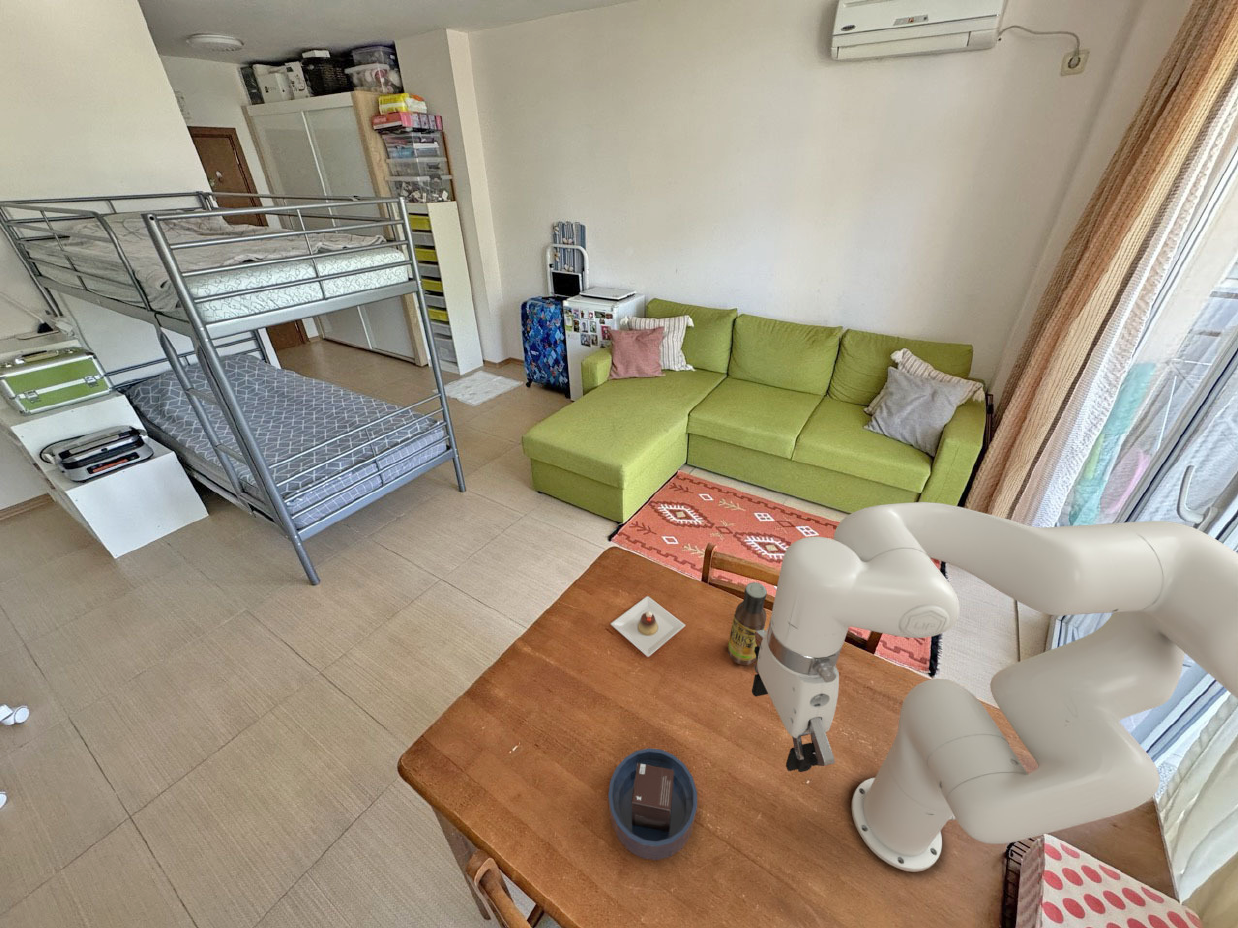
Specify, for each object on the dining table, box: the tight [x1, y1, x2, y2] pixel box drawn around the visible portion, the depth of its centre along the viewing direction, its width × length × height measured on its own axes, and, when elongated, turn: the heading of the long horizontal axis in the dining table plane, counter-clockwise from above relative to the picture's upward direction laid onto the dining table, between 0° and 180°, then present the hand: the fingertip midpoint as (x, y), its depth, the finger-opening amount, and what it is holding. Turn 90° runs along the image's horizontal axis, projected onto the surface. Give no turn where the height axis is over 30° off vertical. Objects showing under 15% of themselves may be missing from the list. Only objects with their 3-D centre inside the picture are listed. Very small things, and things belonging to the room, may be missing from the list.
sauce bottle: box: [727, 581, 768, 666], centre depth 99 cm, size 6×6×20 cm
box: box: [631, 763, 674, 832], centre depth 78 cm, size 6×6×7 cm
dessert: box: [610, 595, 686, 658], centre depth 110 cm, size 12×12×5 cm
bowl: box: [607, 747, 698, 861], centre depth 79 cm, size 14×14×6 cm
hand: (779, 726), depth 63 cm, fingers open, 9 cm apart
